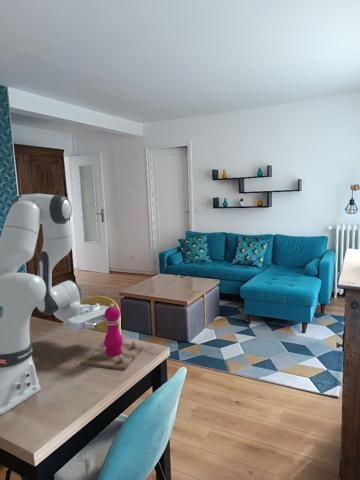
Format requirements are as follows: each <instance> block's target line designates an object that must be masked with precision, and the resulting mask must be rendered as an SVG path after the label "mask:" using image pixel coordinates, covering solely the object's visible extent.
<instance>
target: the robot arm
mask: <svg viewBox="0 0 360 480" xmlns="http://www.w3.org/2000/svg"><path fill="white" fill-rule="evenodd" d="M72 207H73V206H72V203H71V201H70V200H69V198H67V196H64V195H61V194H48V193H47V194H45V193H29V194H26V193H25V194H23V193H22V194H19V195H17V196H15V197H14V198H13V200H12V202H11V204H10V209H9V211H8V213H7V216H6V217H5V221H4V223H3V227H2V230H1V235H0V307H1V309H2V316H1V317H0V416H2V415H4V414H5V413H7V412H8V411H11V409H13V408H16V406H18V405H20V404H21V403H23V402H24V401H26V400H27V399H30V397H33V395H35V394H37V393H38V392H40V391H41V389H42V388H41V385H40V384H39V382H40V381H39V379H38V375H37V372H36V370H37V369H36V366H35V364H34V360H33V346H32V345H33V344H32V342H31V337H30V336H31V335H30V320H31V316H32V313H33V312H34V309H35V308H36V309H37V310H38V311H39V312H40V313H42V314H44V315H48V316H50V315H54V317H55V318H57V319H58V320H60V321H62V322H63V323H62V325H63V326H65V327H67V329H68V330H70V331H71V332H75V333H76V332H80V331H83V330H87V329H93V330H95V329H96V328H97V327H98V326H97V325H98V324H100V323H103V322H106V320H107V319H106V318H105V315H104V313H105V311H106V309H107V308H109V307H110V306H106V305H102V304H101V305H100V303H98V302H95V303H90V304H85V303H84V304H82V303H81V302H82V290H81V288H80V285H78V284H77V283H76V282H74V281H73V280H69V279H68V280H66V281H63V282H60V283H59V284H57V285H54V286H52V283H53V280H52V279H53V278H52V277H53V276H52V274H53V273H52V272H53V270H54V268H55V267H56V265H57V264H58V263H59V262H60V261H61V260H62V259H63V258H64V257H66V256H67V255H68V254H69V253H70V252H71V250H72V248H73V245H74V239H73V232H72V226H71V221H70V219H71V216H72V212H73V208H72ZM40 225H41V226H40ZM40 227H42V236H43V243H42V248H41V251H40V252H39V253H38V257H37V267H36V270H37V271H36V272H37V273H36V274H32V273H28V272H18V271H19V269H20V268H21V267H22V266H23V265H24V264H26V263H27V262H29V261H31V260H32V258H33V257H34V255H35V250H36V246H37V241H38V238H39V233H40Z"/></svg>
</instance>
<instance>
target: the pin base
mask: <svg viewBox="0 0 360 480" xmlns="http://www.w3.org/2000/svg"><path fill="white" fill-rule="evenodd" d="M121 347H122V353H121V354H119V355H117V356H108V355H107V354H106V348H107V347H105V345H104V341H102V342H101V343H99V344H98V346H96V347H95V348H94V349H93V350H91V351H89V353H88V354H87V355H86V356H85V357H84V358H83V359H82V360H80V364H81V365H84V366H85V365H86V366H91V367H93V366H94V367H101V368H109V369H117V370H123V371H124V370H126V369H127V368H128V367H129V366H130V365H131V364H132V363H133V361H134V360H135V359H136V358H137V357H138V356H139V354H140V353H141V352H142V350H144V345H142V344H136V341H135V340H133V341H131V343H126V342H123V344H122V345H121Z"/></svg>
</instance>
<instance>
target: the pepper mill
mask: <svg viewBox="0 0 360 480" xmlns="http://www.w3.org/2000/svg"><path fill="white" fill-rule="evenodd" d="M108 307H109V308H107V309H106V311H105V313H104V315H105V318H106V319H107V320H105V324H106V325H107V330H106V331H107V332H106V334H105V336H104V345H105V347H107V348H106V354H107V355H108V356H117V355H119V354H121V353H122V347H121V345H122V344H123V343H124V340H123V336H122V334H121V332H120V329H119V324H120V316H121V310H120V308H118V307H116V306H115V304H114V303H110V304H109V306H108Z"/></svg>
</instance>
